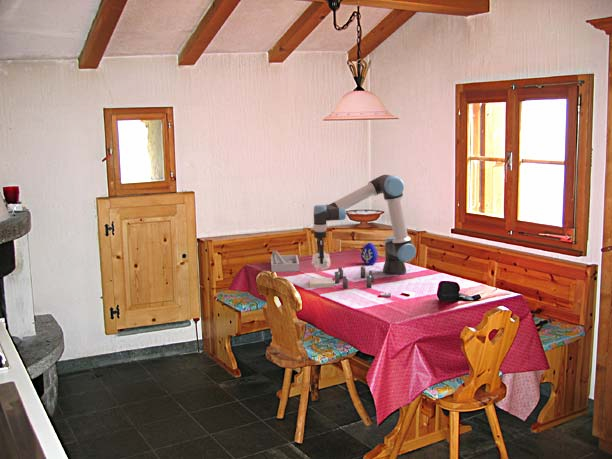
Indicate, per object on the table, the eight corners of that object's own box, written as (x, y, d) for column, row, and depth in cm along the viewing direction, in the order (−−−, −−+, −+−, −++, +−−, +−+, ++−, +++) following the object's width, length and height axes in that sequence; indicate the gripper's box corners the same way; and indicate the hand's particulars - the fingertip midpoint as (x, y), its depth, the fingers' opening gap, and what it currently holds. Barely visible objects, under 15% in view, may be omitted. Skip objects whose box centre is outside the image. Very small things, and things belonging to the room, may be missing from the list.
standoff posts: (370, 276, 437) (370, 266, 436) (377, 287, 409) (377, 276, 408) (332, 278, 436) (332, 267, 434) (337, 289, 408) (337, 277, 407)
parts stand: (331, 281, 427) (331, 277, 426) (333, 287, 413) (333, 283, 412) (308, 282, 426) (308, 278, 426) (310, 287, 412) (310, 283, 412)
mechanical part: (324, 267, 426) (324, 248, 424) (333, 271, 415) (333, 251, 413) (308, 269, 421) (307, 250, 419) (316, 273, 410) (316, 253, 408)
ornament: (359, 264, 473) (359, 243, 470) (365, 262, 480) (365, 241, 478) (374, 266, 467) (374, 244, 464) (380, 263, 475) (380, 242, 472)
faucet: (294, 264, 462) (279, 243, 473) (280, 270, 458) (265, 249, 469) (293, 276, 473) (279, 256, 484) (280, 282, 469) (266, 262, 480)
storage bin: (297, 261, 487) (297, 254, 486) (299, 271, 458) (299, 263, 457) (271, 262, 486) (271, 255, 485) (271, 272, 457) (271, 264, 456)
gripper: (312, 228, 426) (313, 262, 429) (315, 234, 402) (315, 271, 405) (324, 227, 426) (325, 262, 430) (328, 234, 402) (328, 270, 406)
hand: (320, 266), depth 418 cm, fingers closed on mechanical part, 12 cm apart
